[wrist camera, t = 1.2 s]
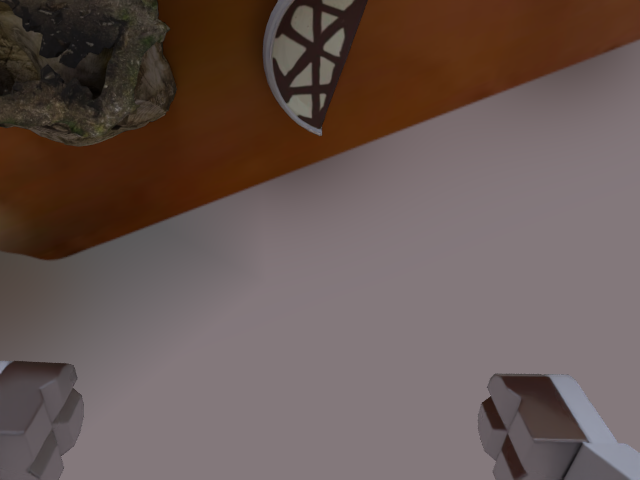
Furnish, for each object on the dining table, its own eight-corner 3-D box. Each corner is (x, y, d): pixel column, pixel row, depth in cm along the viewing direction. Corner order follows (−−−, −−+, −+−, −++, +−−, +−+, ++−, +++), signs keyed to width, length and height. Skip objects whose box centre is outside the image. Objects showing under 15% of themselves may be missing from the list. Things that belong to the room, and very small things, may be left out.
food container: (293, -66, 38) (293, -71, 30) (364, -36, 40) (384, -33, 31) (251, 84, 44) (240, 116, 36) (314, 106, 45) (319, 142, 37)
